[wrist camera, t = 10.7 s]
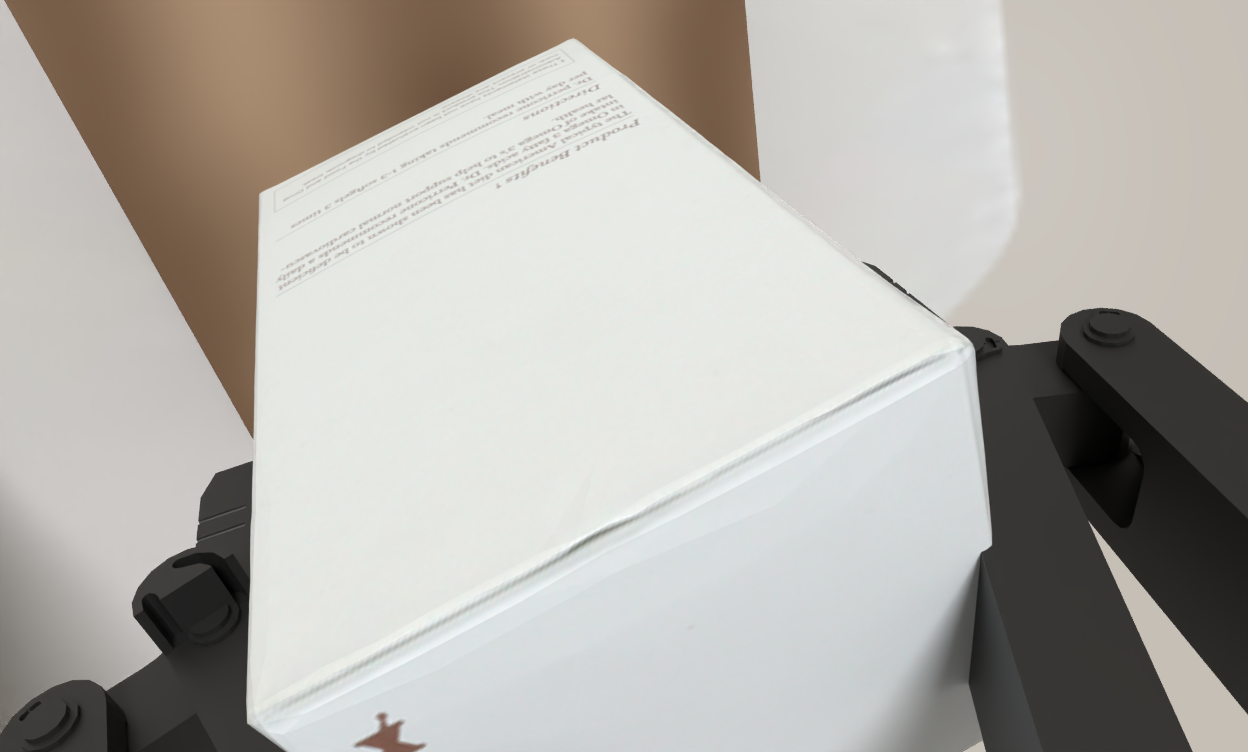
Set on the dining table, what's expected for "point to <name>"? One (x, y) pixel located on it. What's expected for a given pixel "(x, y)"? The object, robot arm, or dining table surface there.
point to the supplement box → (597, 450)
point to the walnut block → (326, 106)
